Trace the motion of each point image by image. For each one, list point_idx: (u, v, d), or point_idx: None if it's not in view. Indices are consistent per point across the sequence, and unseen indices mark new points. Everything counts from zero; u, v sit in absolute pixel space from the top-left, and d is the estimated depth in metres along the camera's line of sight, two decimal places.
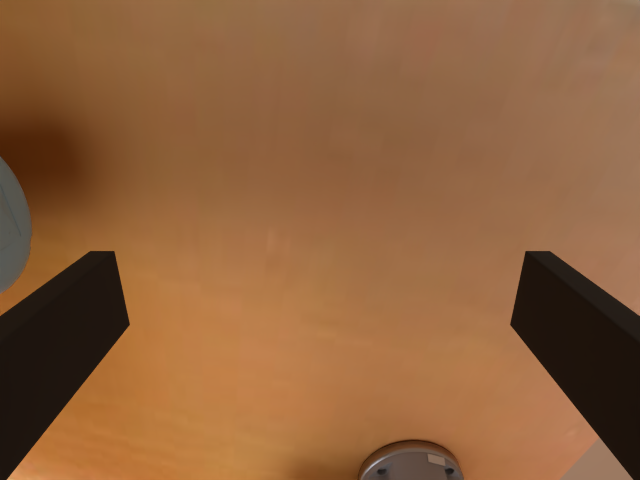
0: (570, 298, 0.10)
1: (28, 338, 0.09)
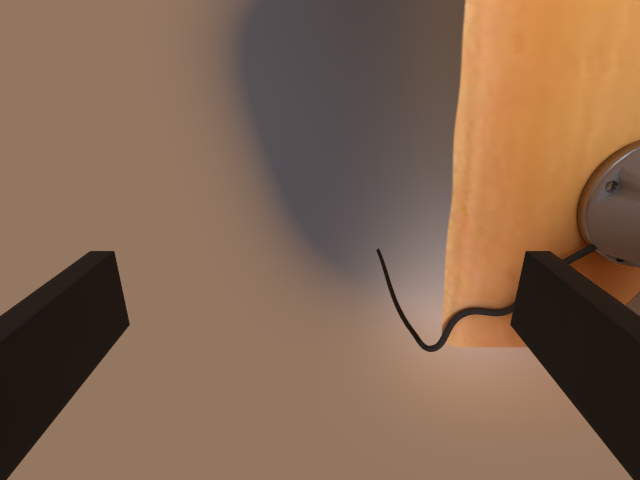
0: (570, 298, 0.10)
1: (28, 338, 0.09)
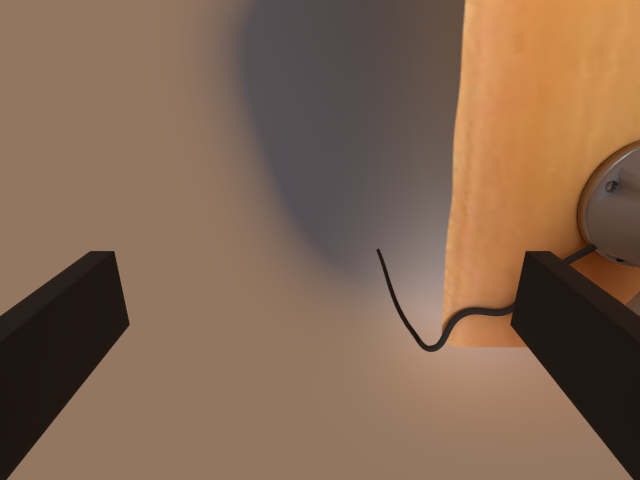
0: (570, 298, 0.10)
1: (28, 338, 0.09)
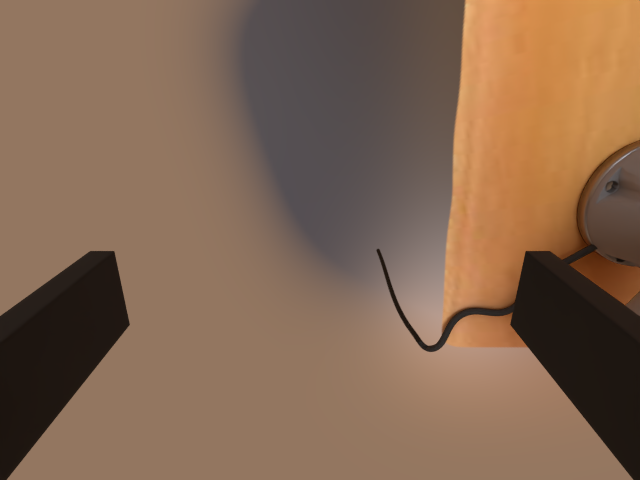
0: (570, 298, 0.10)
1: (28, 338, 0.09)
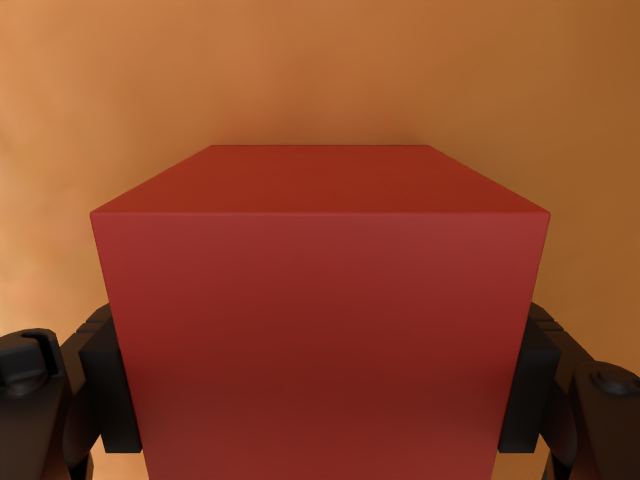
0: None
1: None
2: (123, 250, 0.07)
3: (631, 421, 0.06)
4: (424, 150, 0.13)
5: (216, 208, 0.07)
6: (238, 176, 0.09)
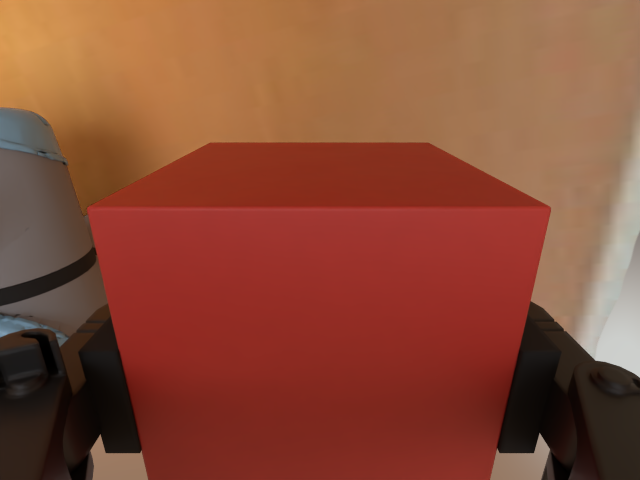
0: None
1: None
2: (120, 245, 0.07)
3: (631, 422, 0.06)
4: (424, 147, 0.13)
5: (214, 203, 0.07)
6: (237, 172, 0.09)
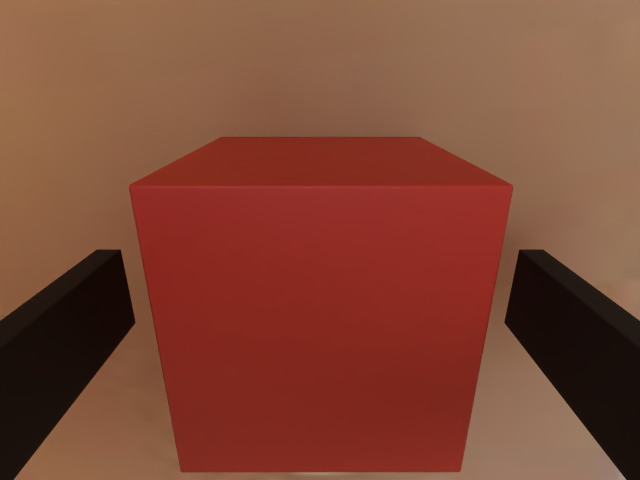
0: (562, 296, 0.10)
1: (38, 335, 0.09)
2: (156, 217, 0.08)
3: None
4: (415, 141, 0.14)
5: (234, 182, 0.08)
6: (249, 160, 0.11)
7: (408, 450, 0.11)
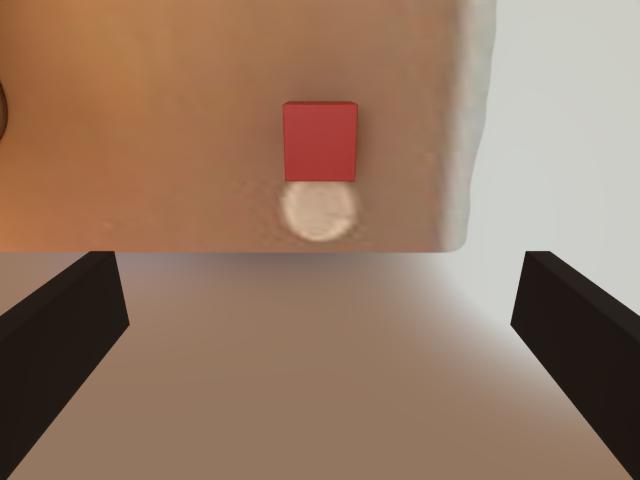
0: (570, 298, 0.10)
1: (28, 338, 0.09)
2: (287, 111, 0.42)
3: None
4: None
5: None
6: None
7: (341, 173, 0.44)
